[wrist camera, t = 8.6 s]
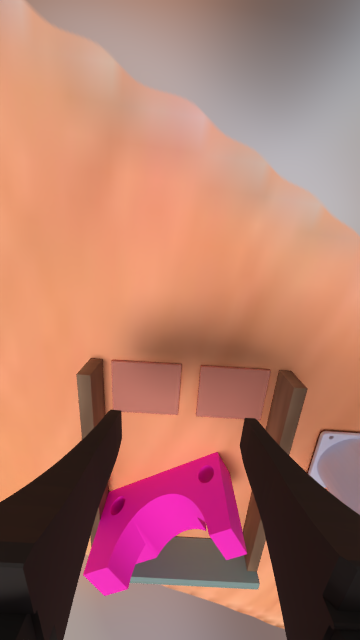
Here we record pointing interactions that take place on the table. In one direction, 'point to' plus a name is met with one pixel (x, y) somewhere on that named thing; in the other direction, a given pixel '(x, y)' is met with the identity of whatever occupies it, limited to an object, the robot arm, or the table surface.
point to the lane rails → (278, 426)
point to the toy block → (163, 519)
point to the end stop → (195, 566)
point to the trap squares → (164, 385)
